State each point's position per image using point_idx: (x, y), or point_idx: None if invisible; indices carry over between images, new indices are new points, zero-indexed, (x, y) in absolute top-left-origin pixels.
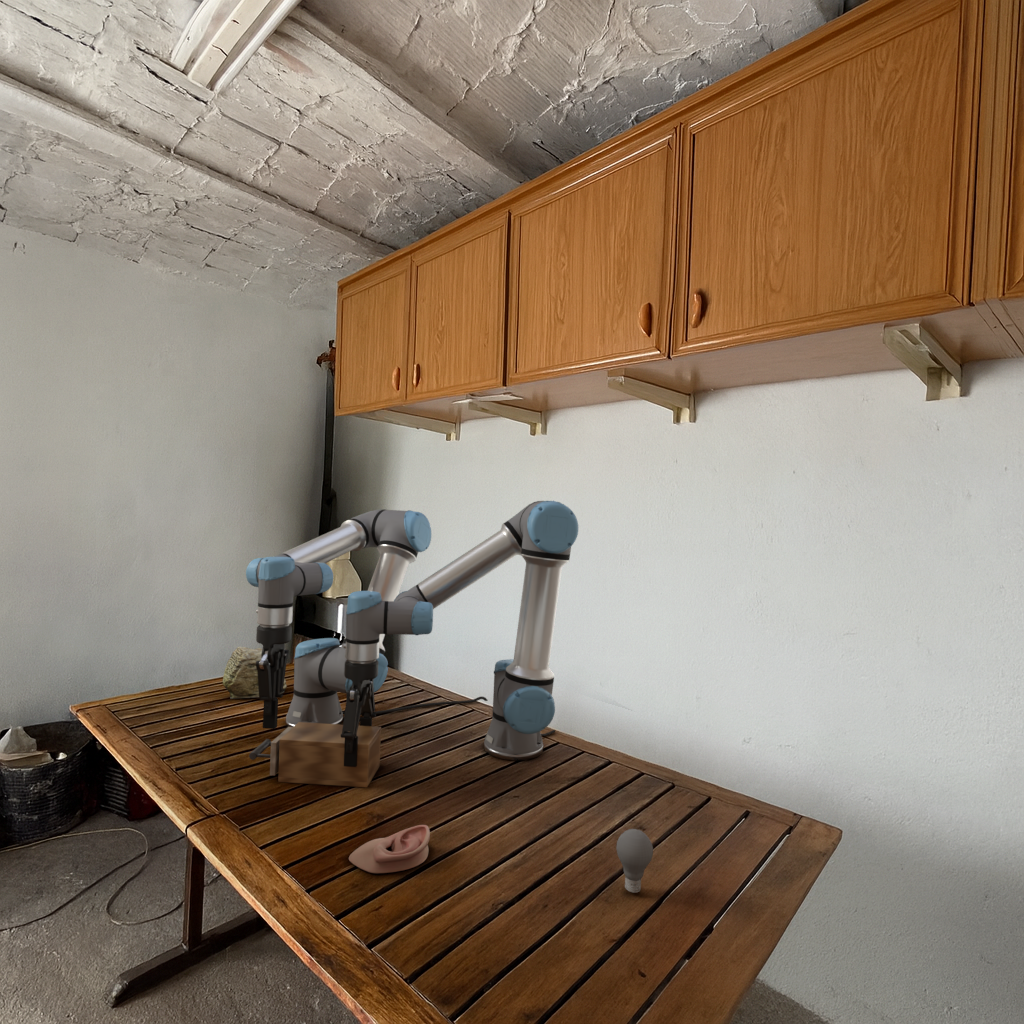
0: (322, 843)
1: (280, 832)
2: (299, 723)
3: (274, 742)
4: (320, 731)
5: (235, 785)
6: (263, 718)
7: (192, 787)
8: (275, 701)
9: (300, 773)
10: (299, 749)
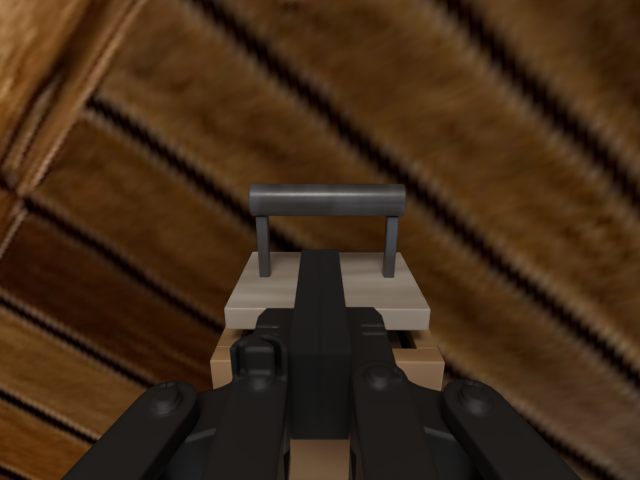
0: (4, 456)
1: (5, 374)
2: (424, 371)
3: (227, 322)
4: (333, 471)
5: (196, 157)
6: (299, 275)
7: (141, 6)
8: (291, 432)
9: None
10: None
